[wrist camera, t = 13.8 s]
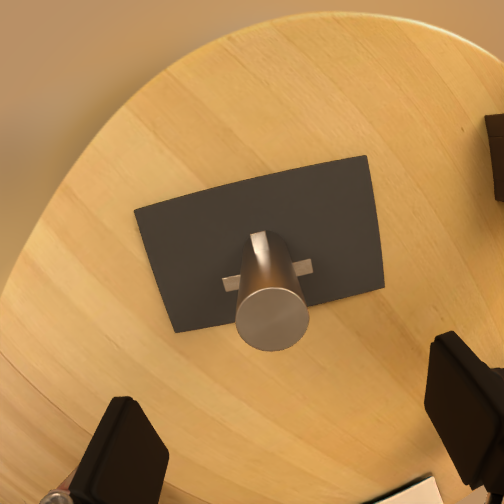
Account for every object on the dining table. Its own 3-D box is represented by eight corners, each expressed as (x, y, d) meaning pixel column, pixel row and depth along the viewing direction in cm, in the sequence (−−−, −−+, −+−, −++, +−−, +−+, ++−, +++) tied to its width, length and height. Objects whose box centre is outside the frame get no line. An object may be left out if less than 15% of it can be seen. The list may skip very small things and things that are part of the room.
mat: (135, 209, 26) (133, 210, 26) (364, 155, 25) (366, 155, 24) (176, 330, 30) (175, 333, 29) (382, 285, 28) (385, 287, 28)
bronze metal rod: (220, 225, 26) (194, 278, 15) (293, 208, 26) (323, 249, 14) (238, 291, 28) (228, 378, 16) (307, 276, 27) (339, 356, 16)
